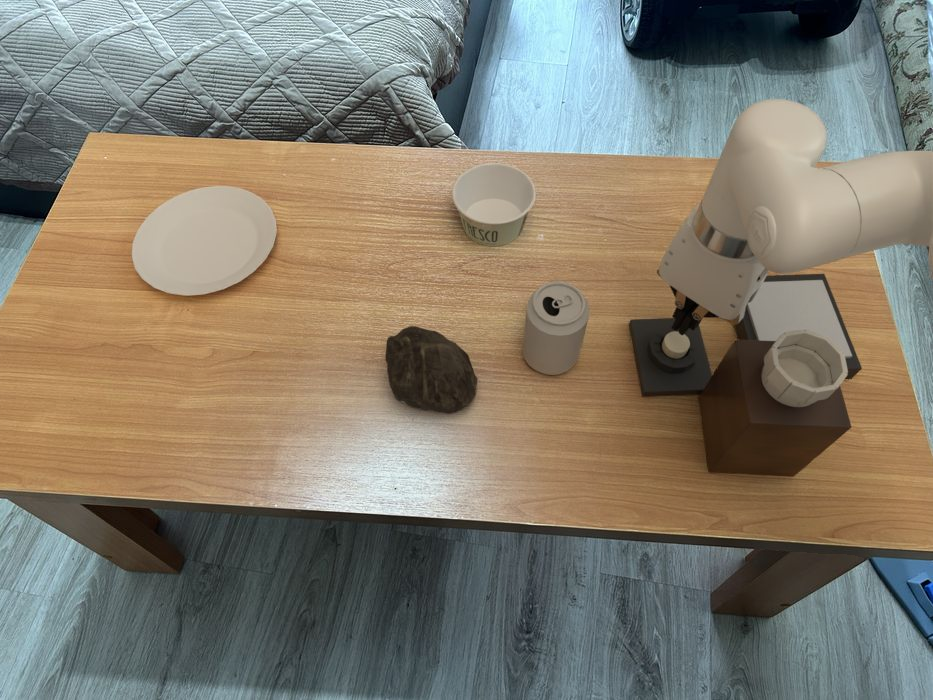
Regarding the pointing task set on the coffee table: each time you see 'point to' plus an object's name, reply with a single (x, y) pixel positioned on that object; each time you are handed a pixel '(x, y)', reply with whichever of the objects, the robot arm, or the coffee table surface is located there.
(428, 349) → the rock
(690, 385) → the pad
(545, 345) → the can
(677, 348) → the button
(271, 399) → the coffee table surface
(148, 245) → the plate
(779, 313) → the scale
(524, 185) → the food container
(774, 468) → the stand
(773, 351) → the bowl
